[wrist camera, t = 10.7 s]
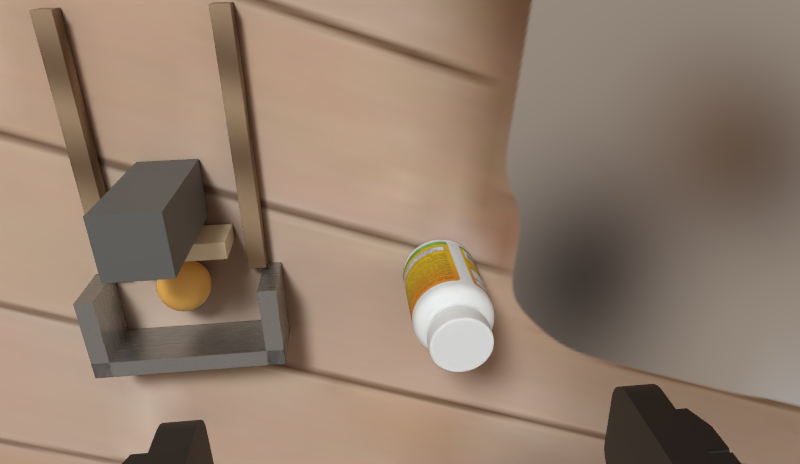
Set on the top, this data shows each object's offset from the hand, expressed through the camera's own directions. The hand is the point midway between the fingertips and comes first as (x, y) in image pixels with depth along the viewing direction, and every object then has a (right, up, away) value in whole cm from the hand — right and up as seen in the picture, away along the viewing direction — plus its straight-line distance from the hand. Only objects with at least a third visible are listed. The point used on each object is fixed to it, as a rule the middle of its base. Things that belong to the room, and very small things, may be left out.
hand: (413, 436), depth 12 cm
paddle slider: (-15, +6, +29) cm, 33 cm away
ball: (-15, 0, +30) cm, 33 cm away
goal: (-15, -1, +32) cm, 36 cm away
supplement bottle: (+3, +1, +33) cm, 33 cm away
